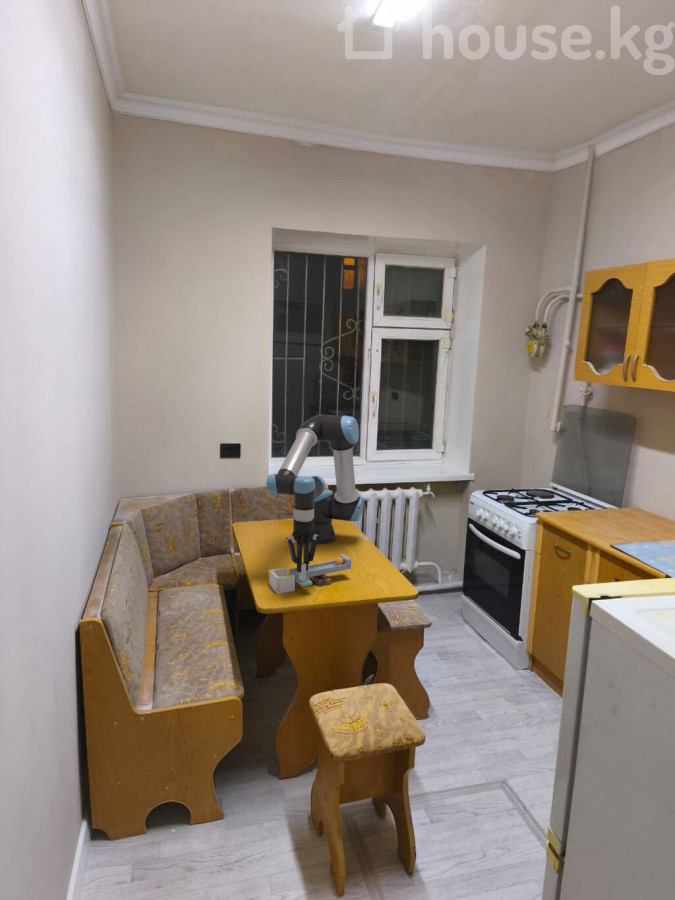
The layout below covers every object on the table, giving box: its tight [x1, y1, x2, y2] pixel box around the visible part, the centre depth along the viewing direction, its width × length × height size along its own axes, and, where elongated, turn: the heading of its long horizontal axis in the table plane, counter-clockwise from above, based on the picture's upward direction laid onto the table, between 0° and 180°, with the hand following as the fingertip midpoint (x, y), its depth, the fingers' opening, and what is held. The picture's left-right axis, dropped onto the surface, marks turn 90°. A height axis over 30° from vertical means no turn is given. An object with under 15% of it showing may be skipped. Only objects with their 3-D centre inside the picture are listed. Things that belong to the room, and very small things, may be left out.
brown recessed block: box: [309, 574, 332, 587], centre depth 229 cm, size 5×9×4 cm, turn 26°
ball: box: [334, 556, 344, 566], centre depth 232 cm, size 4×4×4 cm
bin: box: [268, 567, 296, 595], centre depth 222 cm, size 7×9×6 cm
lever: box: [288, 553, 352, 588], centre depth 225 cm, size 24×13×4 cm, turn 116°
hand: (302, 579), depth 218 cm, fingers closed
